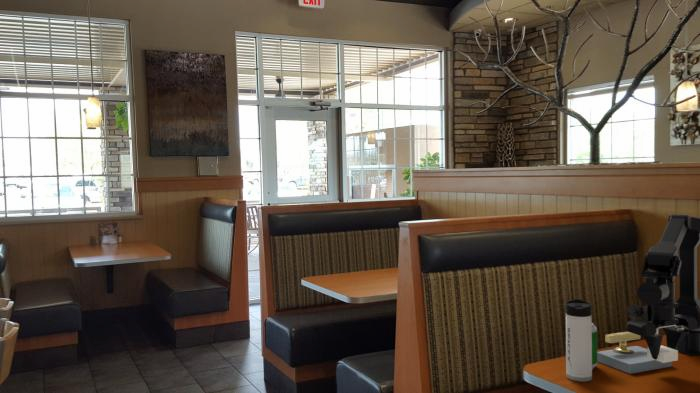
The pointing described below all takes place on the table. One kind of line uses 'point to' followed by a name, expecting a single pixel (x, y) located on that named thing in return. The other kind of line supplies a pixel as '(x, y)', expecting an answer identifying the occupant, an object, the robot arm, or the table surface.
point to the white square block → (665, 354)
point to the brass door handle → (621, 340)
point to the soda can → (594, 346)
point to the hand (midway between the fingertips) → (662, 357)
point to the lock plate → (630, 360)
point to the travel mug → (578, 340)
